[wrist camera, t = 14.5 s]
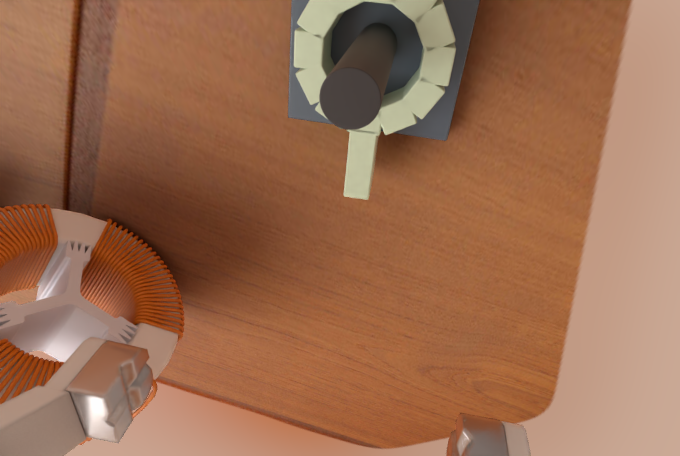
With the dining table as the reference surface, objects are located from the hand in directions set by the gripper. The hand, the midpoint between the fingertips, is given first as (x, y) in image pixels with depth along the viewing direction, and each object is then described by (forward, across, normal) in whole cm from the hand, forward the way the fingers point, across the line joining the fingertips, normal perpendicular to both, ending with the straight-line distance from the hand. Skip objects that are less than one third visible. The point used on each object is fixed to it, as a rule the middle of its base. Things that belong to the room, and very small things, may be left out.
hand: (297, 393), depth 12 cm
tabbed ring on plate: (+17, 0, -3) cm, 17 cm away
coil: (+18, +18, +13) cm, 28 cm away
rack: (+18, 0, -5) cm, 19 cm away
